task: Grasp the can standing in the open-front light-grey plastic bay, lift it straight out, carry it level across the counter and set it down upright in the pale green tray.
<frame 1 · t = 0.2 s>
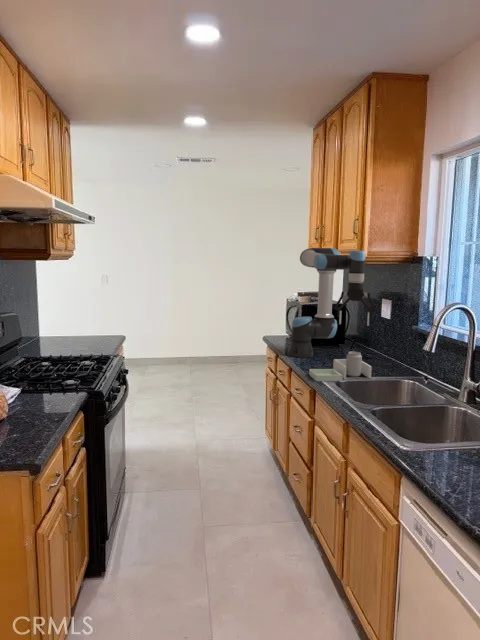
hand: (353, 324, 238), 26 cm above the worktop, fingers open, 13 cm apart
tray: (325, 377, 236), on the worktop
can: (353, 375, 242), on the worktop
bay: (351, 374, 244), on the worktop
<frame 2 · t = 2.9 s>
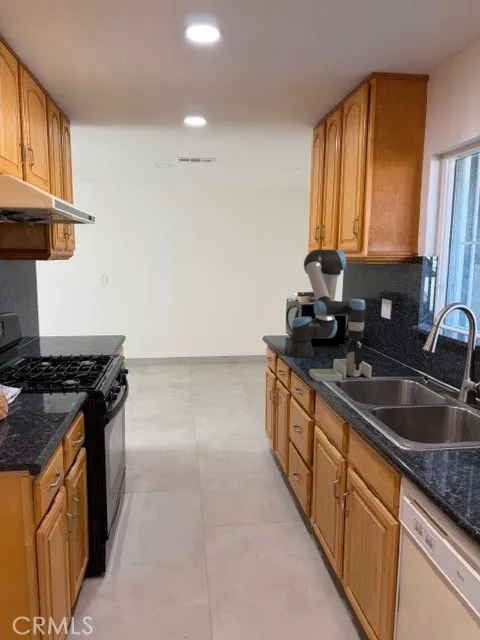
hand: (353, 374, 242), 1 cm above the worktop, fingers closed on can, 7 cm apart
can: (353, 375, 242), on the worktop, touching gripper
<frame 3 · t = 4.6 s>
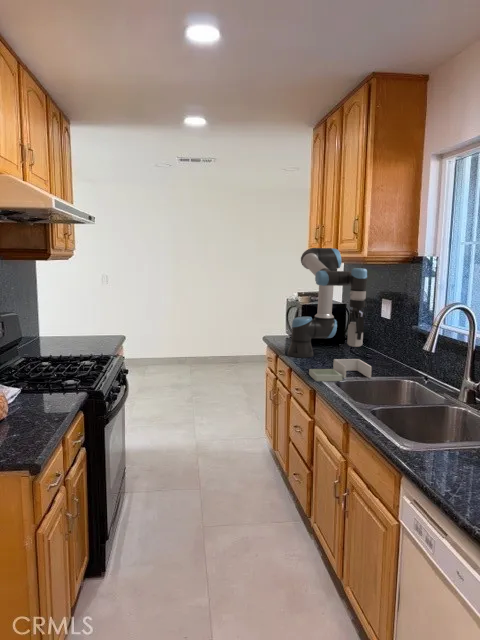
hand: (354, 344, 240), 16 cm above the worktop, fingers closed on can, 7 cm apart
can: (354, 346, 240), point 15 cm above the worktop, touching gripper
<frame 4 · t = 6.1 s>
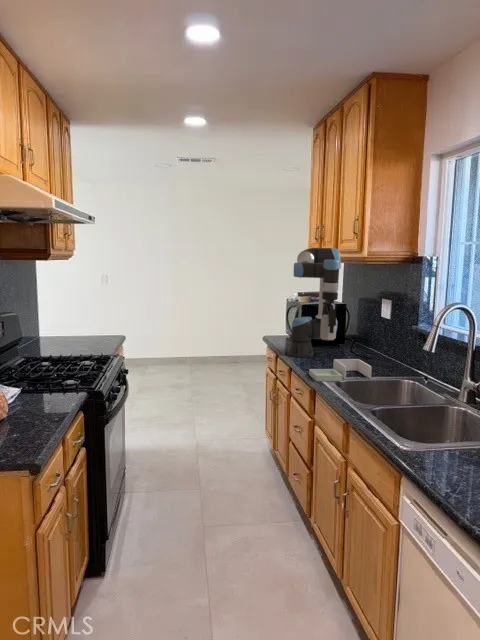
hand: (327, 337, 233), 20 cm above the worktop, fingers closed on can, 7 cm apart
can: (327, 339, 233), point 19 cm above the worktop, touching gripper
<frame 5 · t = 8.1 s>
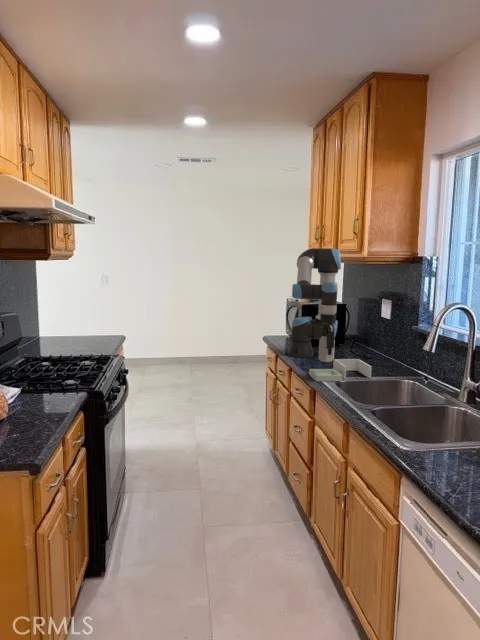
hand: (326, 359, 234), 9 cm above the worktop, fingers closed on can, 7 cm apart
can: (326, 361, 235), point 8 cm above the worktop, touching gripper
when the fingers open (3 cm above the worktop, at t = 9.8 s): can drops 1 cm, resting on tray.
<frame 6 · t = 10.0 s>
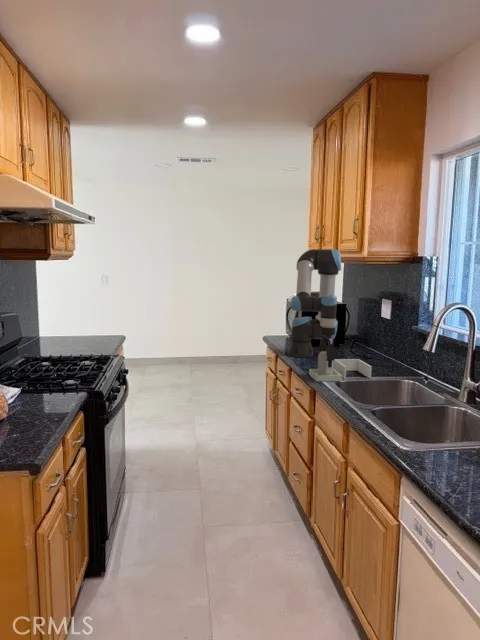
hand: (325, 370, 235), 3 cm above the worktop, fingers open, 10 cm apart
can: (325, 376, 236), point 1 cm above the worktop, touching tray
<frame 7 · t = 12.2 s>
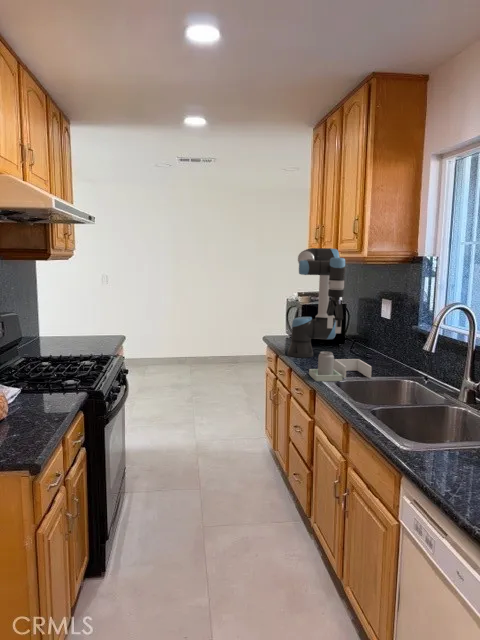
hand: (333, 330, 240), 23 cm above the worktop, fingers open, 13 cm apart
nothing on the worktop moved.
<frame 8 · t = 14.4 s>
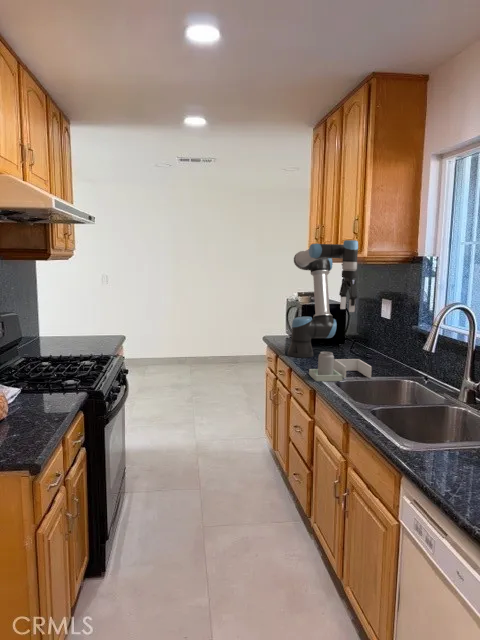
hand: (347, 310, 251), 32 cm above the worktop, fingers open, 13 cm apart
nothing on the worktop moved.
at the end: can inside the target area on the tray (0.1 cm from its centre), point 0.6 cm above the tray's base; can tilted 0°; the gripper is holding nothing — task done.
